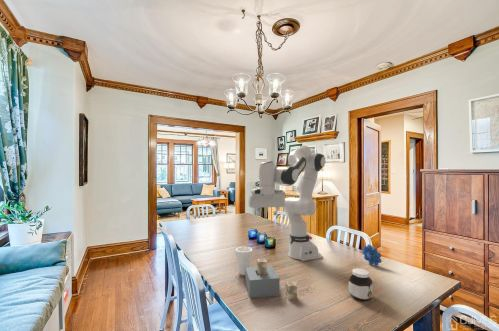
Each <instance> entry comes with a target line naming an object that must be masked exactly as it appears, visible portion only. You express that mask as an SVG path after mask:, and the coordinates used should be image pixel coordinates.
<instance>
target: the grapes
mask: <svg viewBox="0 0 499 331" xmlns="http://www.w3.org/2000/svg"><path fill="white" fill-rule="evenodd" d="M362 247H363V248H362V250H361V253H362V255H364V256H363V259H364V260H365V261H366V262H367V261H368V263H369V265H371V266H372V265H374V266H376V267H378V266H379V264H381V263H382V254H381V253H380V252H379V251H378V249H377V248H376V247H375V246H372V245H371V244H370V243H369V244H367V245H363V246H362Z"/></svg>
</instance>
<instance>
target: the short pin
mask: <svg viewBox="0 0 499 331" xmlns="http://www.w3.org/2000/svg"><path fill="white" fill-rule="evenodd" d="M285 296H286V297H287V299H288V300H289V301H290V300H297V299H298V285H297V283H296V282H295V281H286V282H285Z"/></svg>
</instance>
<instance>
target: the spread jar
mask: <svg viewBox="0 0 499 331" xmlns="http://www.w3.org/2000/svg"><path fill="white" fill-rule="evenodd" d="M369 275H370V272H369V271H368V270H366V269H364V268H358V267H357V268H352V274H351V275H350V277H349V278H348V292H349V295H351V297H353V298H354V299H355V300H357V301H360V302H368V301H369V300H370V299H371V298H372V297H373V295H374V283H373V280H372V278H371V277H370V276H369Z"/></svg>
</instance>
